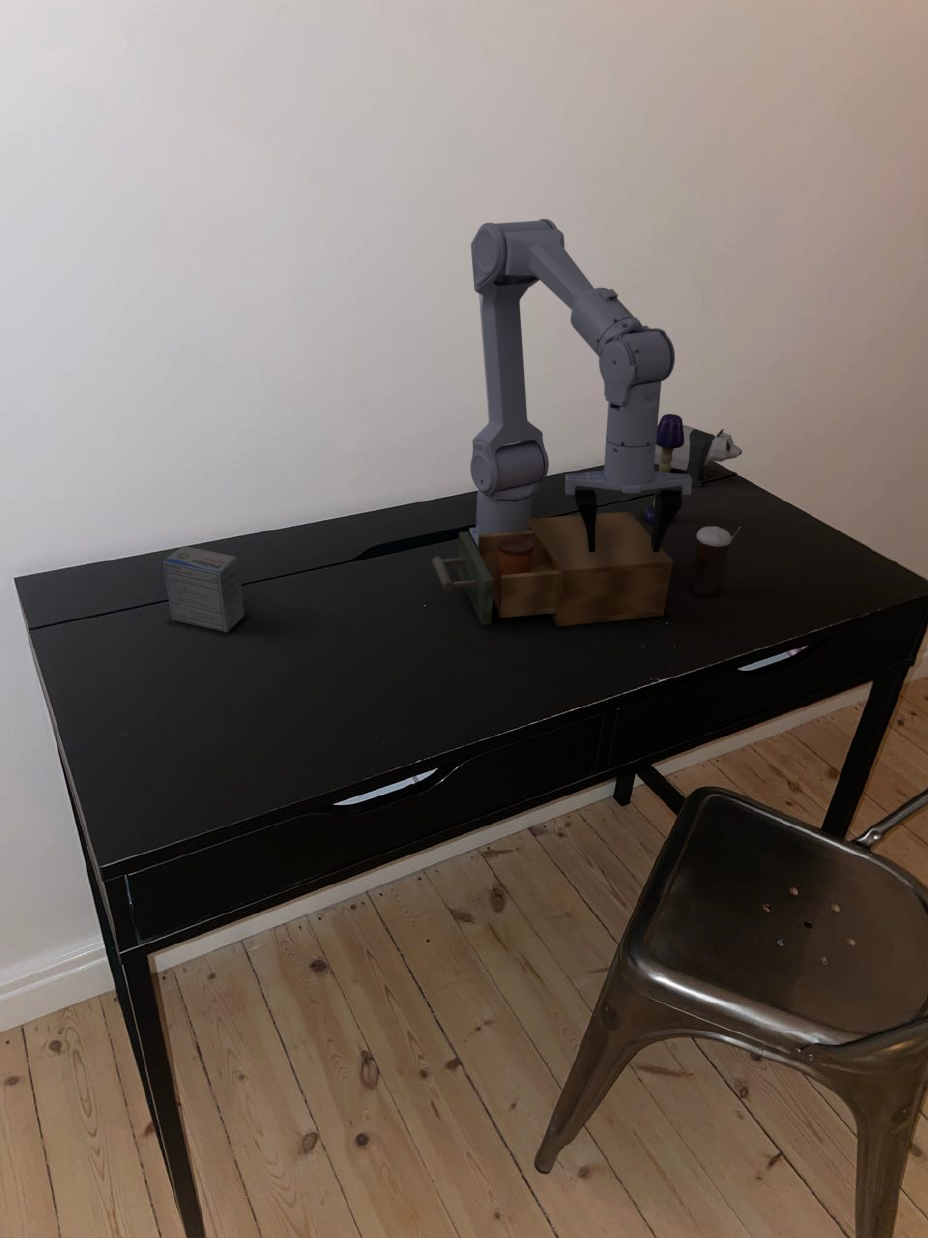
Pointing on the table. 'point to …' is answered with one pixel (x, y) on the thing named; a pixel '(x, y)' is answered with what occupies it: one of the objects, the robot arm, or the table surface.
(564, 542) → the cabinet
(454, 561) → the drawer
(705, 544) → the milkshake
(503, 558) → the spice jar
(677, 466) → the giant panda
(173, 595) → the medicine box
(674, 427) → the toy lamp
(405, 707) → the table surface
